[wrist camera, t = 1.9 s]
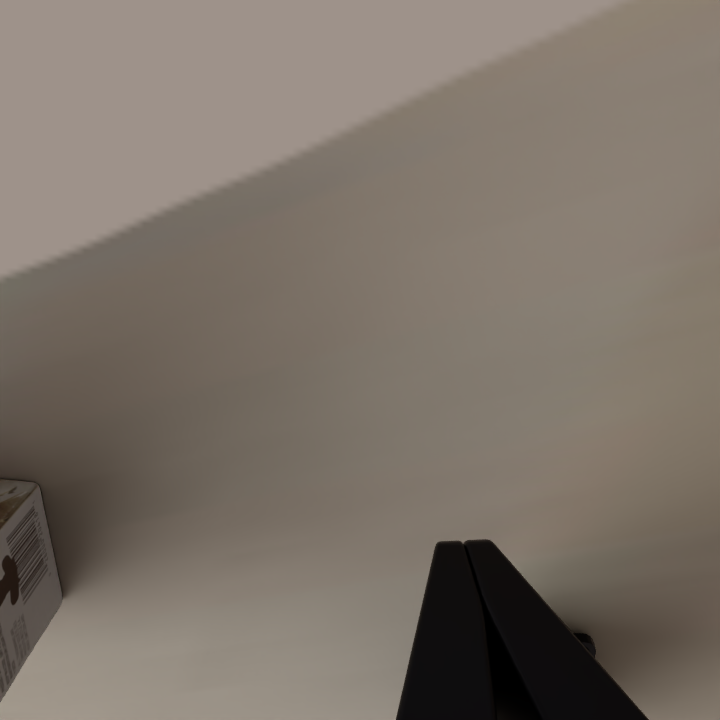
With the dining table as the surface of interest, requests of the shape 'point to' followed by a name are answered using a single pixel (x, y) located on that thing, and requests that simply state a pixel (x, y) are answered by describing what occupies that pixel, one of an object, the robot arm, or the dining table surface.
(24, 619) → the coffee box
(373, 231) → the dining table surface
